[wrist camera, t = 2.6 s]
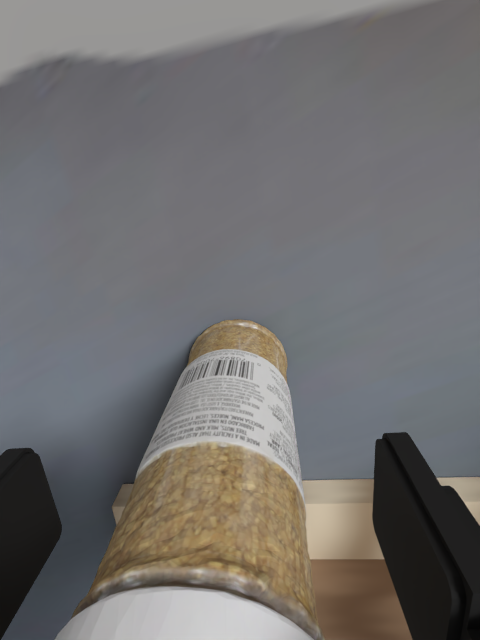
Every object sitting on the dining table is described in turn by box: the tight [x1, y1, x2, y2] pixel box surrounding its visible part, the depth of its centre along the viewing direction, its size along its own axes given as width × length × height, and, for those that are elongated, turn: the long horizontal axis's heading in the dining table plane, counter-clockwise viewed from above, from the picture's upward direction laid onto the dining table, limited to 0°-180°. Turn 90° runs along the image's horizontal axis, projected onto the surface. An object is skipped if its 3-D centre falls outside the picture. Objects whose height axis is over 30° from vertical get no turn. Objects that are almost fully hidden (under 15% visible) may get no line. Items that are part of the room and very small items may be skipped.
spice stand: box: [112, 477, 480, 640], centre depth 19 cm, size 24×16×5 cm, turn 95°
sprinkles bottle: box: [55, 319, 325, 640], centre depth 10 cm, size 5×5×14 cm
